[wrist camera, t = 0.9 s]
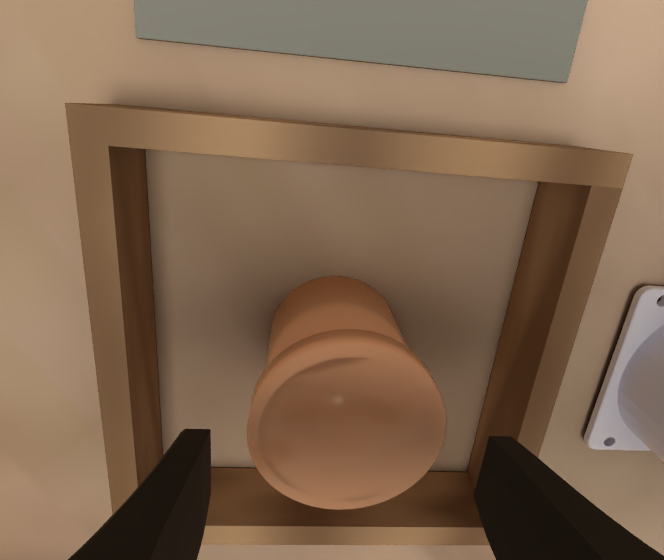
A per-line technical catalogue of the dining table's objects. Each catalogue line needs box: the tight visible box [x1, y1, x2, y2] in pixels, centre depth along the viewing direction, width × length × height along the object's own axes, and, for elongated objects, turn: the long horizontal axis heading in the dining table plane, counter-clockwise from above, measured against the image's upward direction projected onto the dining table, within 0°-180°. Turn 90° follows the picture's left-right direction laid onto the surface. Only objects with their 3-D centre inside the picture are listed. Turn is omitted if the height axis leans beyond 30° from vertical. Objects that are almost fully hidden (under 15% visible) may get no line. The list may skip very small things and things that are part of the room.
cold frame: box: [65, 103, 633, 545], centre depth 17 cm, size 16×16×3 cm
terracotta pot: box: [247, 276, 446, 510], centre depth 15 cm, size 6×6×6 cm
